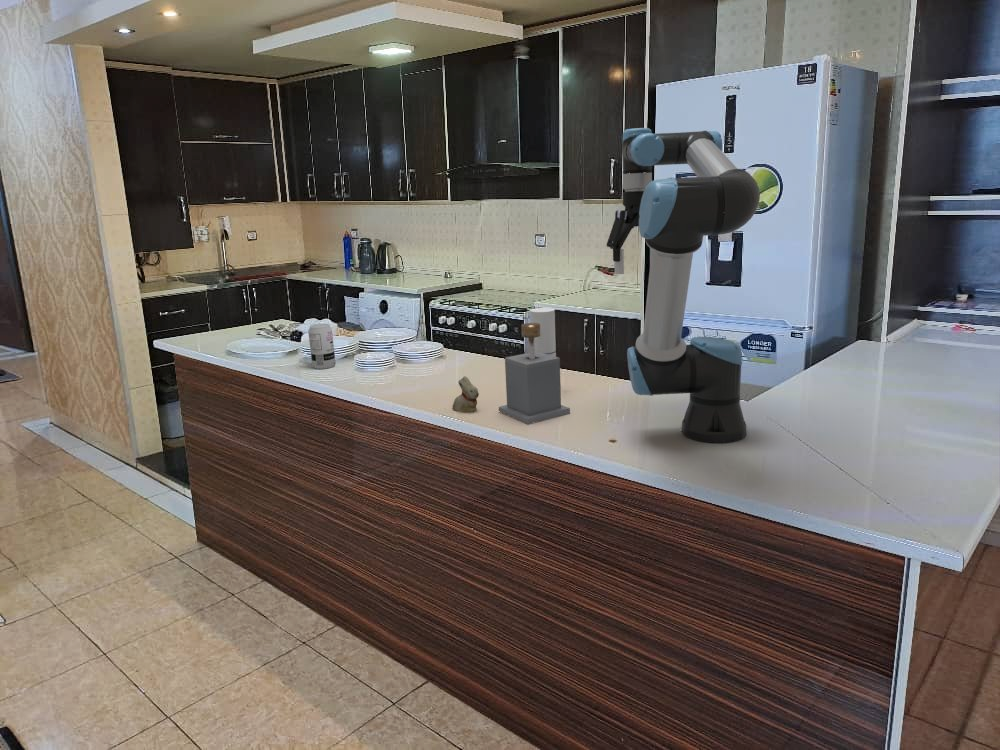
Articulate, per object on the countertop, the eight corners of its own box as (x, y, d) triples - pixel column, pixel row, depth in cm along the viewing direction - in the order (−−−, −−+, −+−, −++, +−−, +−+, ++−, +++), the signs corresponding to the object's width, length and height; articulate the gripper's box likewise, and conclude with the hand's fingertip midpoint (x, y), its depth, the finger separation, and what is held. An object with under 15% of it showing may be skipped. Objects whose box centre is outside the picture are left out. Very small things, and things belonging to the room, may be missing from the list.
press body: (570, 413, 200) (568, 357, 196) (527, 424, 193) (525, 367, 189) (539, 402, 211) (537, 349, 207) (498, 411, 204) (496, 357, 200)
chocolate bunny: (464, 415, 203) (462, 380, 200) (450, 408, 209) (447, 374, 207) (481, 411, 206) (479, 376, 203) (466, 404, 212) (464, 371, 209)
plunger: (554, 398, 200) (552, 324, 194) (529, 404, 195) (526, 329, 190) (536, 391, 206) (534, 320, 201) (512, 397, 202) (509, 324, 197)
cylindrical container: (555, 395, 216) (552, 312, 210) (531, 395, 218) (528, 312, 211) (558, 389, 223) (556, 307, 217) (535, 388, 225) (532, 307, 218)
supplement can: (311, 365, 268) (307, 325, 264) (334, 363, 270) (330, 322, 266) (313, 370, 260) (308, 329, 257) (336, 367, 263) (332, 326, 259)
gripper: (659, 188, 203) (658, 265, 209) (592, 192, 190) (593, 275, 195) (680, 187, 198) (679, 267, 203) (612, 192, 184) (613, 277, 189)
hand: (637, 271), depth 199 cm, fingers open, 13 cm apart
